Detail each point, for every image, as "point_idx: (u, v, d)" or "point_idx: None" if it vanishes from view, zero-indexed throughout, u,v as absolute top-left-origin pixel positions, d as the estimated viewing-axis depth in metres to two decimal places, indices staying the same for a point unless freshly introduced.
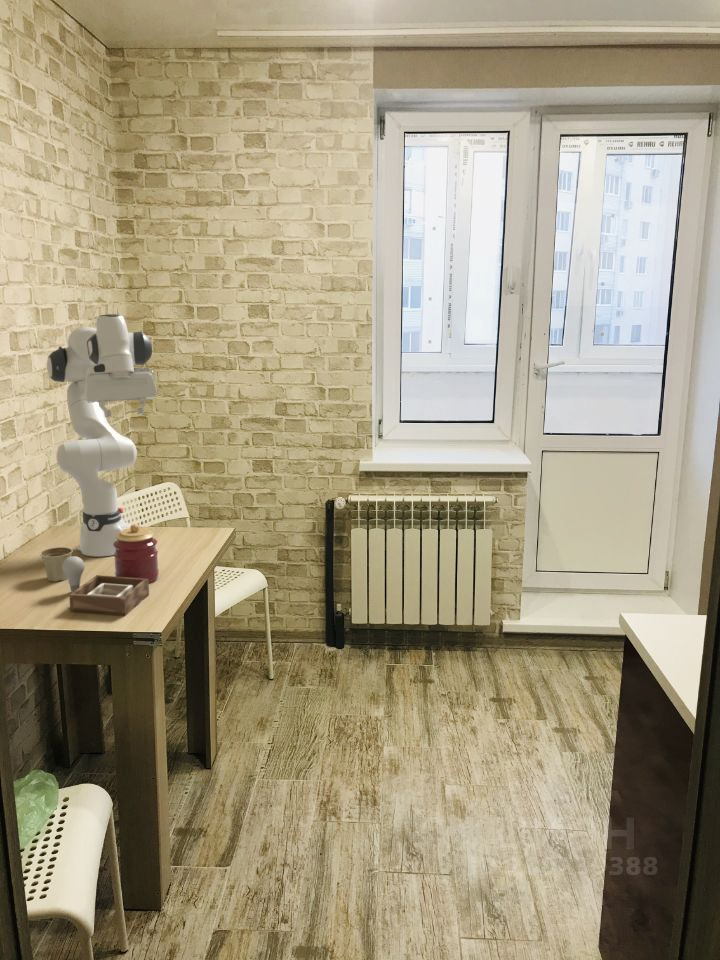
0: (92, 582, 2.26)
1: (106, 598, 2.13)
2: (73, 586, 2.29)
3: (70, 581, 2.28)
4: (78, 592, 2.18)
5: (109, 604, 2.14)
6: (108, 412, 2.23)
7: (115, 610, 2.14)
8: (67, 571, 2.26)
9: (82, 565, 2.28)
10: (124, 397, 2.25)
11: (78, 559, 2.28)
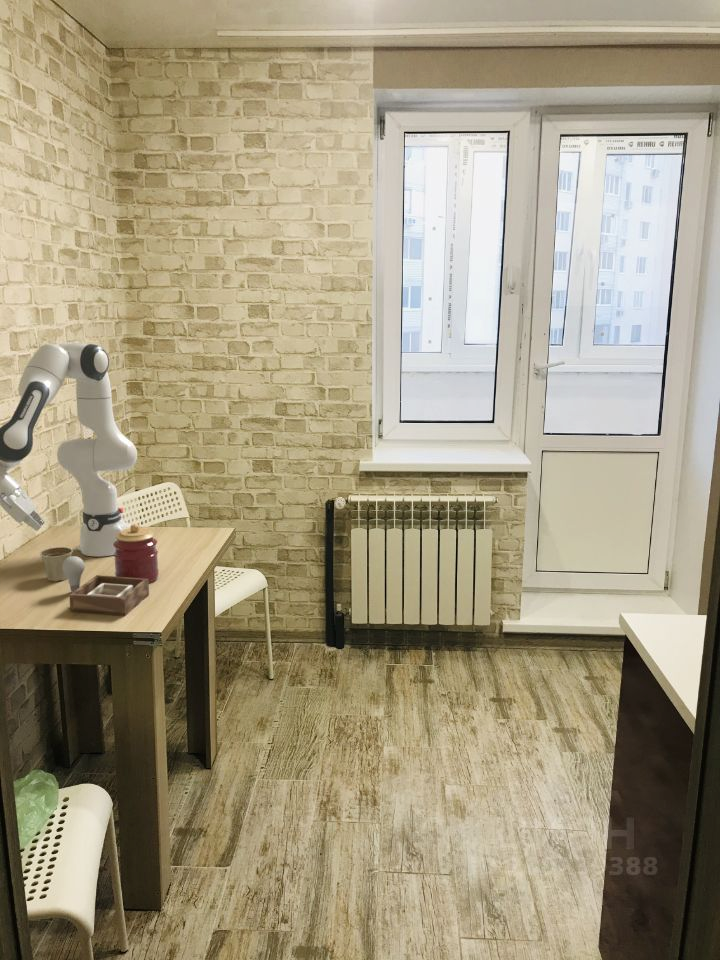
0: (92, 582, 2.26)
1: (106, 598, 2.13)
2: (73, 586, 2.29)
3: (70, 581, 2.28)
4: (78, 592, 2.18)
5: (109, 604, 2.14)
6: None
7: (115, 610, 2.14)
8: (67, 571, 2.26)
9: (82, 565, 2.28)
10: None
11: (78, 559, 2.28)
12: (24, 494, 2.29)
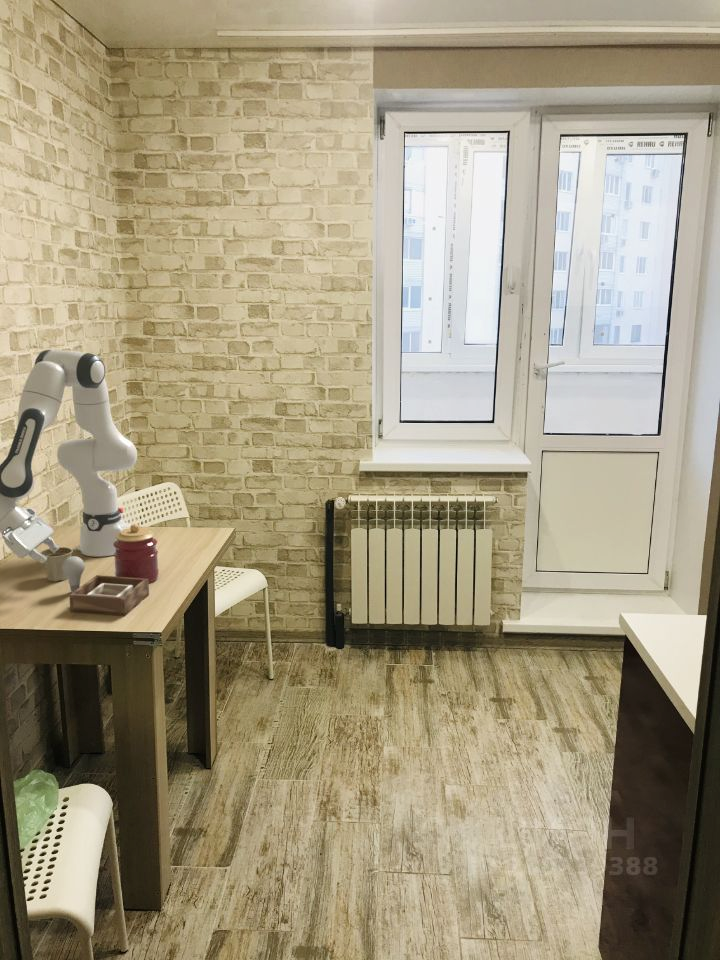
0: (92, 582, 2.26)
1: (106, 598, 2.13)
2: (73, 586, 2.29)
3: (70, 581, 2.28)
4: (78, 592, 2.18)
5: (109, 604, 2.14)
6: None
7: (115, 610, 2.14)
8: (67, 571, 2.26)
9: (82, 565, 2.28)
10: None
11: (78, 559, 2.28)
12: (40, 520, 2.33)
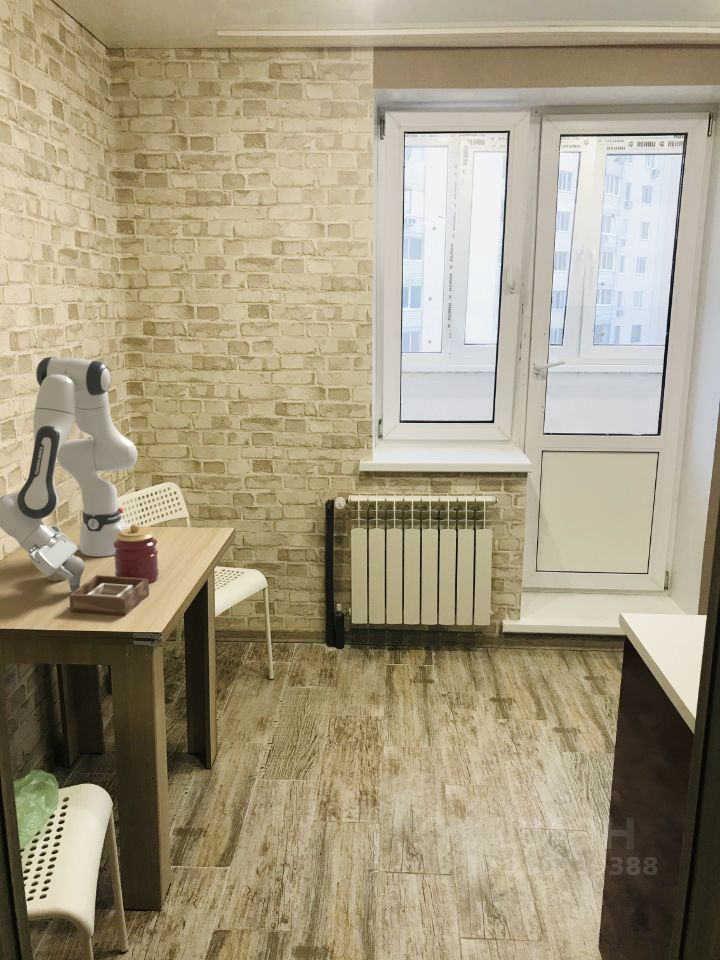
0: (92, 582, 2.26)
1: (106, 598, 2.13)
2: (73, 586, 2.29)
3: (70, 581, 2.28)
4: (78, 592, 2.18)
5: (109, 604, 2.14)
6: None
7: (115, 610, 2.14)
8: None
9: (82, 565, 2.28)
10: None
11: (78, 559, 2.28)
12: (64, 537, 2.35)
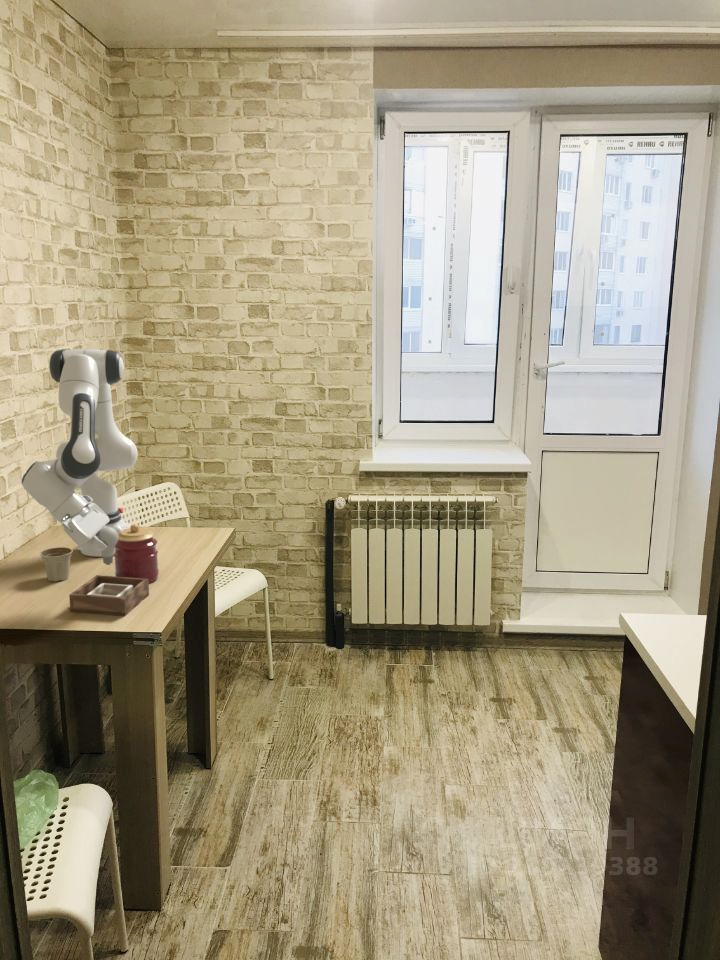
0: (92, 582, 2.26)
1: (106, 598, 2.13)
2: (106, 558, 2.18)
3: (103, 552, 2.18)
4: (78, 592, 2.18)
5: (109, 604, 2.14)
6: None
7: (115, 610, 2.14)
8: None
9: (116, 536, 2.18)
10: None
11: (112, 529, 2.18)
12: (96, 508, 2.24)
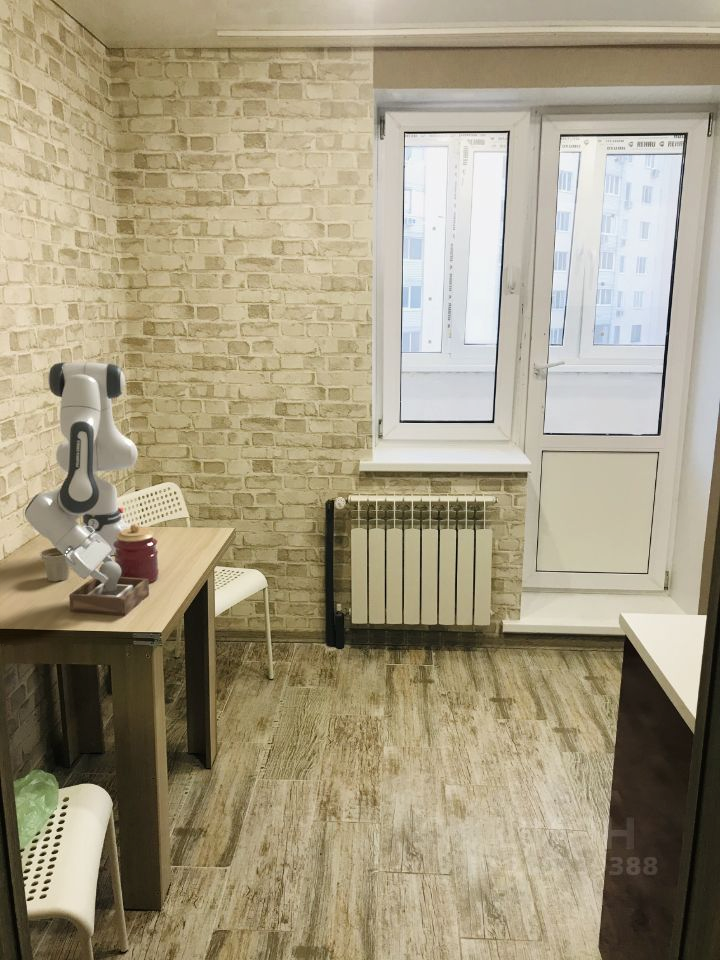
0: (92, 582, 2.26)
1: (106, 598, 2.13)
2: (110, 592, 2.22)
3: (106, 587, 2.21)
4: (78, 592, 2.18)
5: (109, 604, 2.14)
6: None
7: (115, 610, 2.14)
8: None
9: (119, 571, 2.21)
10: None
11: (115, 564, 2.21)
12: (98, 538, 2.26)
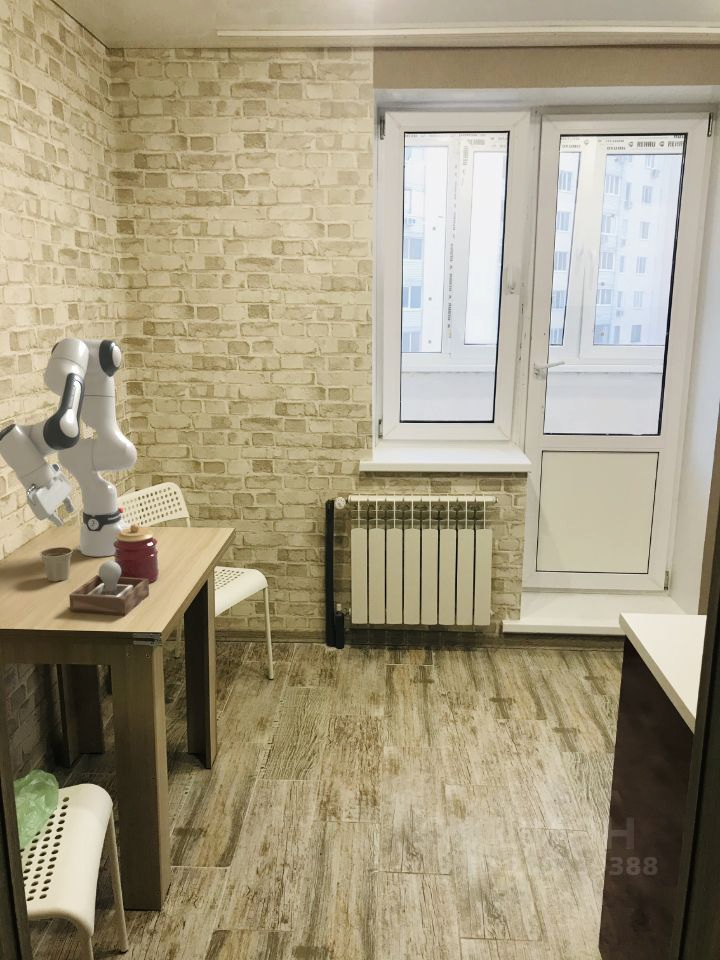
0: (92, 582, 2.26)
1: (106, 598, 2.13)
2: (110, 592, 2.22)
3: (106, 587, 2.21)
4: (78, 592, 2.18)
5: (109, 604, 2.14)
6: None
7: (115, 610, 2.14)
8: (103, 576, 2.19)
9: (119, 570, 2.21)
10: None
11: (115, 564, 2.21)
12: (62, 476, 2.29)
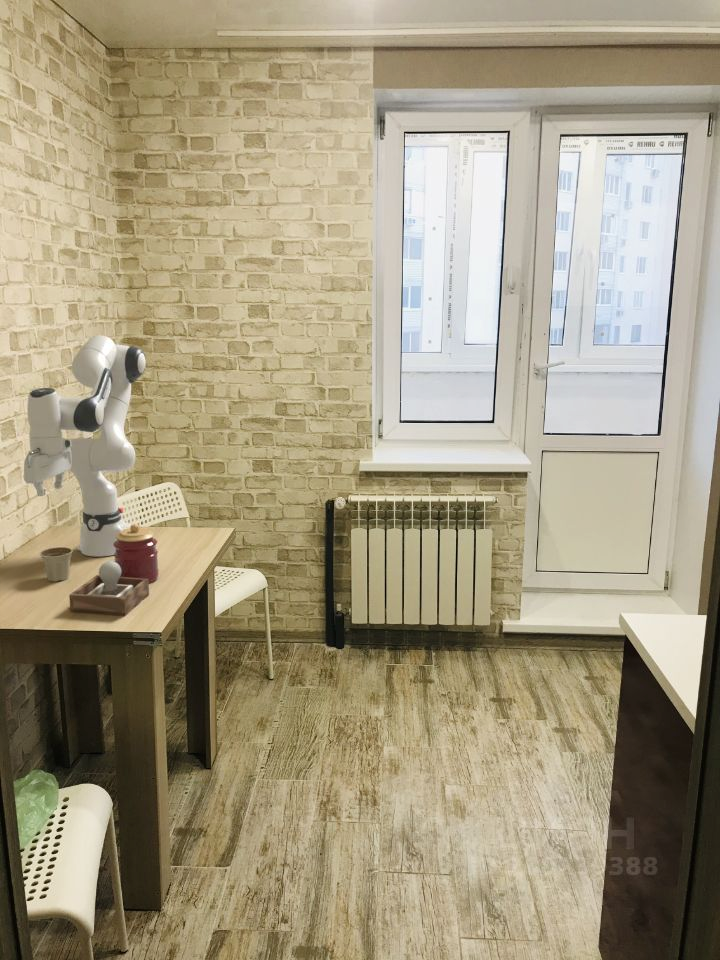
0: (92, 582, 2.26)
1: (106, 598, 2.13)
2: (110, 592, 2.22)
3: (106, 587, 2.21)
4: (78, 592, 2.18)
5: (109, 604, 2.14)
6: None
7: (115, 610, 2.14)
8: (103, 577, 2.19)
9: (119, 570, 2.21)
10: None
11: (115, 564, 2.21)
12: (68, 454, 2.34)
